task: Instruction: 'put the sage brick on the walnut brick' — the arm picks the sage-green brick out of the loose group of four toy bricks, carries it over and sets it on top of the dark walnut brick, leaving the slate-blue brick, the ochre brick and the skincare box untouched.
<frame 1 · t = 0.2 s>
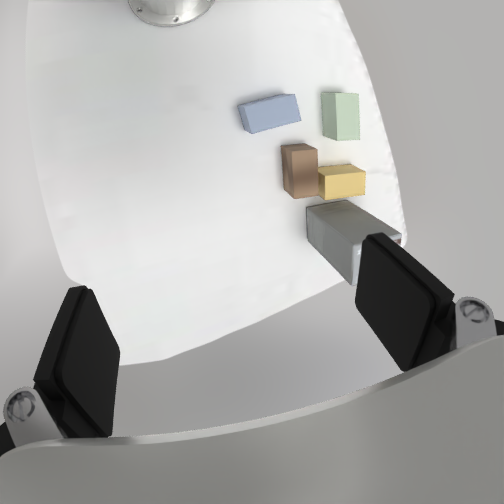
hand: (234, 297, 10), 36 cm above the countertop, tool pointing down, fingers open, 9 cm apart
slate brick: (264, 111, 41), on the countertop
skincare box: (328, 217, 52), on the countertop
sage brick: (332, 113, 43), on the countertop
walnut brick: (294, 166, 46), on the countertop
ochre brick: (331, 176, 48), on the countertop
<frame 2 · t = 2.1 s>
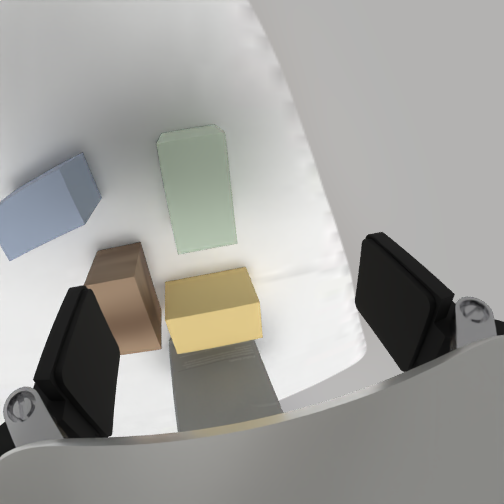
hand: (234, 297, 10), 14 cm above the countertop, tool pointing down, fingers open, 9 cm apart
slate brick: (55, 193, 19), on the countertop
skincare box: (214, 346, 30), on the countertop
sage brick: (194, 174, 22), on the countertop
walnut brick: (130, 281, 25), on the countertop
ochre brick: (208, 291, 27), on the countertop
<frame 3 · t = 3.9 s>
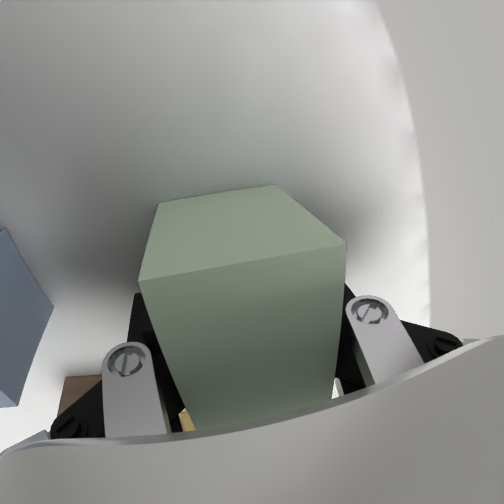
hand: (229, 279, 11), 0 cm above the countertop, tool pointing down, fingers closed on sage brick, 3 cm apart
sage brick: (230, 285, 11), on the countertop, touching gripper
walnut brick: (123, 411, 14), on the countertop
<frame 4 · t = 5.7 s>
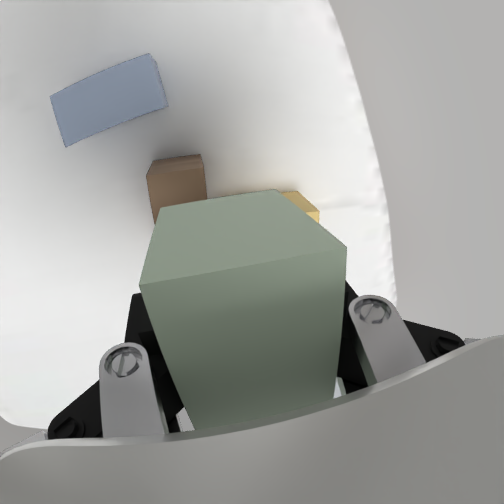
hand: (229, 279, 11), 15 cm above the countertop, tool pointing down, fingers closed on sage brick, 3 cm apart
slate brick: (119, 99, 20), on the countertop
sage brick: (232, 290, 11), point 15 cm above the countertop, tilted 5°, touching gripper
walnut brick: (181, 197, 25), on the countertop
ochre brick: (259, 214, 27), on the countertop
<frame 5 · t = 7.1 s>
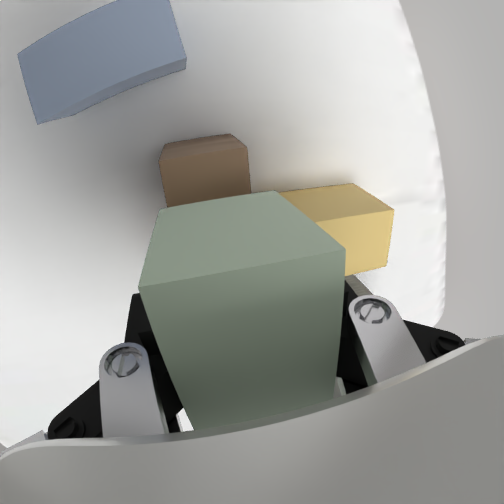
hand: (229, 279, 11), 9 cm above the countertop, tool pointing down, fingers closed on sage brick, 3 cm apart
slate brick: (117, 61, 13), on the countertop
skincare box: (297, 299, 24), on the countertop
sage brick: (231, 291, 11), point 9 cm above the countertop, tilted 5°, touching gripper
walnut brick: (205, 193, 18), on the countertop
ochre brick: (306, 214, 21), on the countertop
when the fingers open (6 cm above the countertop, at t = 7.8 s): sage brick drops 1 cm, resting on walnut brick.
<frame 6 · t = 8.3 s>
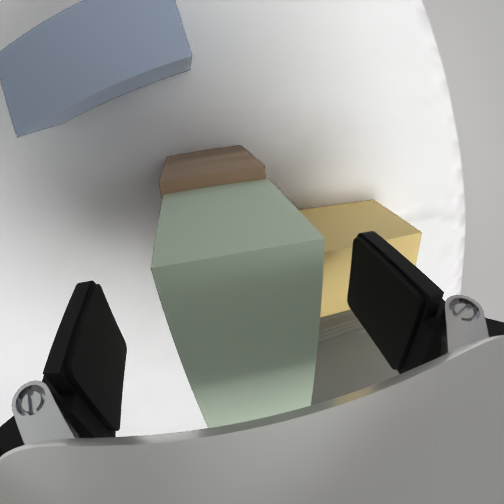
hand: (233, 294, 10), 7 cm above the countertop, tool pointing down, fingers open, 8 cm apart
slate brick: (112, 62, 11), on the countertop
skincare box: (310, 322, 22), on the countertop
sage brick: (227, 269, 12), point 5 cm above the countertop, touching walnut brick
walnut brick: (212, 213, 16), on the countertop, touching sage brick
ochre brick: (323, 234, 19), on the countertop
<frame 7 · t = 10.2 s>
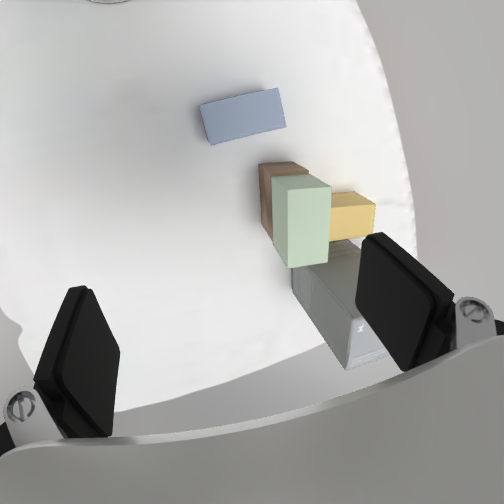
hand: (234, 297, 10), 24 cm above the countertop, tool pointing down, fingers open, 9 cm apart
slate brick: (236, 114, 29), on the countertop
skincare box: (321, 261, 39), on the countertop
sage brick: (291, 209, 30), point 5 cm above the countertop, touching walnut brick
walnut brick: (276, 193, 34), on the countertop, touching sage brick
ochre brick: (328, 208, 36), on the countertop
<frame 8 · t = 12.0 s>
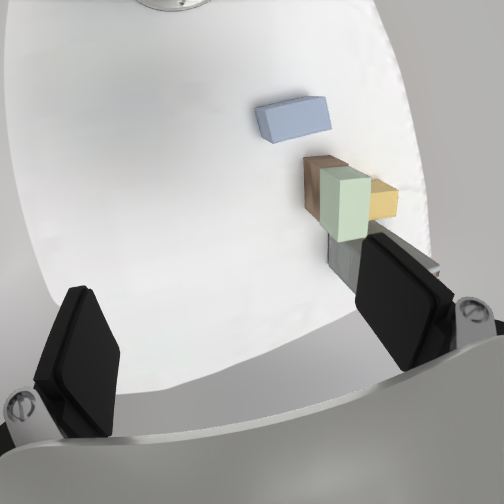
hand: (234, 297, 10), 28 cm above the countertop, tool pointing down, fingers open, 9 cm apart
slate brick: (285, 116, 34), on the countertop
skincare box: (351, 238, 45), on the countertop
sage brick: (334, 195, 35), point 5 cm above the countertop, touching walnut brick
walnut brick: (317, 181, 39), on the countertop, touching sage brick
ochre brick: (358, 193, 42), on the countertop
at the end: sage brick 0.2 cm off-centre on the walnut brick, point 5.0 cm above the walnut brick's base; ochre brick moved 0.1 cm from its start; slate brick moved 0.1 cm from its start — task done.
